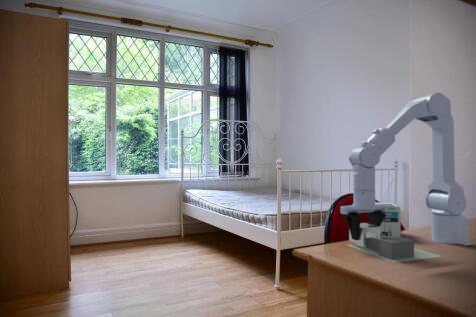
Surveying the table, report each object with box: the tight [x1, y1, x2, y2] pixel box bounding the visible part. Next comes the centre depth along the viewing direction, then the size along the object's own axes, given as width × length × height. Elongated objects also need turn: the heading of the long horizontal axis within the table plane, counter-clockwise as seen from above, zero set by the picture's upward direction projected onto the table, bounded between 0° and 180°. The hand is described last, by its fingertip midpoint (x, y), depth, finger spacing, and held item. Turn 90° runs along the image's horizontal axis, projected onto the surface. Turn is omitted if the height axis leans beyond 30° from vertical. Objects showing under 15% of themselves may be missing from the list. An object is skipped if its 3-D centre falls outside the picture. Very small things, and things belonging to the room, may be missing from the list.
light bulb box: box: [375, 201, 402, 239], centre depth 112 cm, size 11×7×11 cm, turn 168°
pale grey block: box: [348, 222, 381, 246], centre depth 98 cm, size 6×6×5 cm
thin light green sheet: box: [346, 237, 443, 264], centre depth 93 cm, size 15×18×5 cm
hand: (364, 238), depth 98 cm, fingers closed on pale grey block, 6 cm apart
